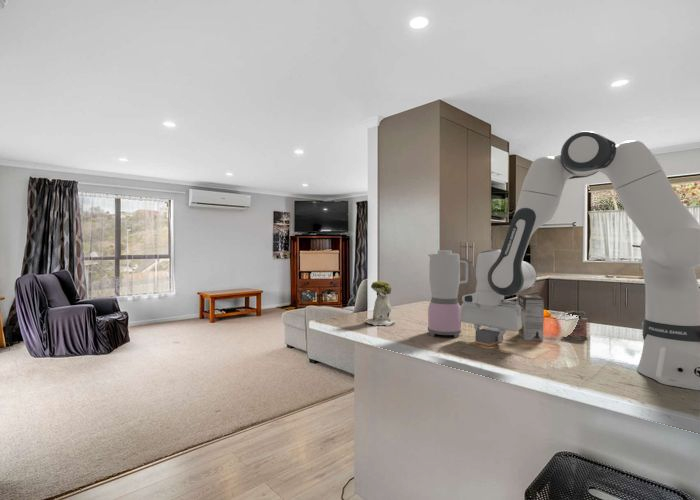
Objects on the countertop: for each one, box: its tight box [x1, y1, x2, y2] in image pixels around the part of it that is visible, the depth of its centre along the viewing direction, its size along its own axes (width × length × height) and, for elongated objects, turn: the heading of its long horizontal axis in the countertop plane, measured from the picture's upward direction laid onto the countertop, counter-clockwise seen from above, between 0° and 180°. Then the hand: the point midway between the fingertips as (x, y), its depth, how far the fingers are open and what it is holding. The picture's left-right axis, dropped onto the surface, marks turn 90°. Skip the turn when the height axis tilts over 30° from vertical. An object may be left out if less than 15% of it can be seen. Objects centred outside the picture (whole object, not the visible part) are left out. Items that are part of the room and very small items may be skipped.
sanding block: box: [474, 326, 504, 346], centre depth 124 cm, size 5×9×4 cm, turn 132°
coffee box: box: [518, 294, 545, 342], centre depth 131 cm, size 9×6×16 cm
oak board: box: [464, 339, 552, 360], centre depth 119 cm, size 22×14×2 cm, turn 42°
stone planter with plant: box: [365, 280, 396, 327], centre depth 161 cm, size 12×13×18 cm
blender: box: [427, 249, 471, 339], centre depth 141 cm, size 16×12×32 cm
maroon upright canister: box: [563, 310, 588, 341], centre depth 135 cm, size 8×3×10 cm, turn 76°
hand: (489, 339), depth 124 cm, fingers closed on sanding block, 5 cm apart
